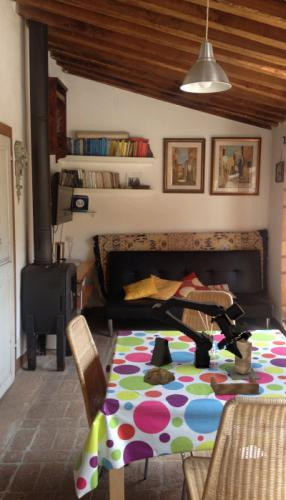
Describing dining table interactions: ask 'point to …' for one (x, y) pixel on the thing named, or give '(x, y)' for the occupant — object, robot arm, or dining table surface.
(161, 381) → the bread roll
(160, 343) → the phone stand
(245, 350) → the maple block
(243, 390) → the nook
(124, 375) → the dining table surface
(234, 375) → the mat
